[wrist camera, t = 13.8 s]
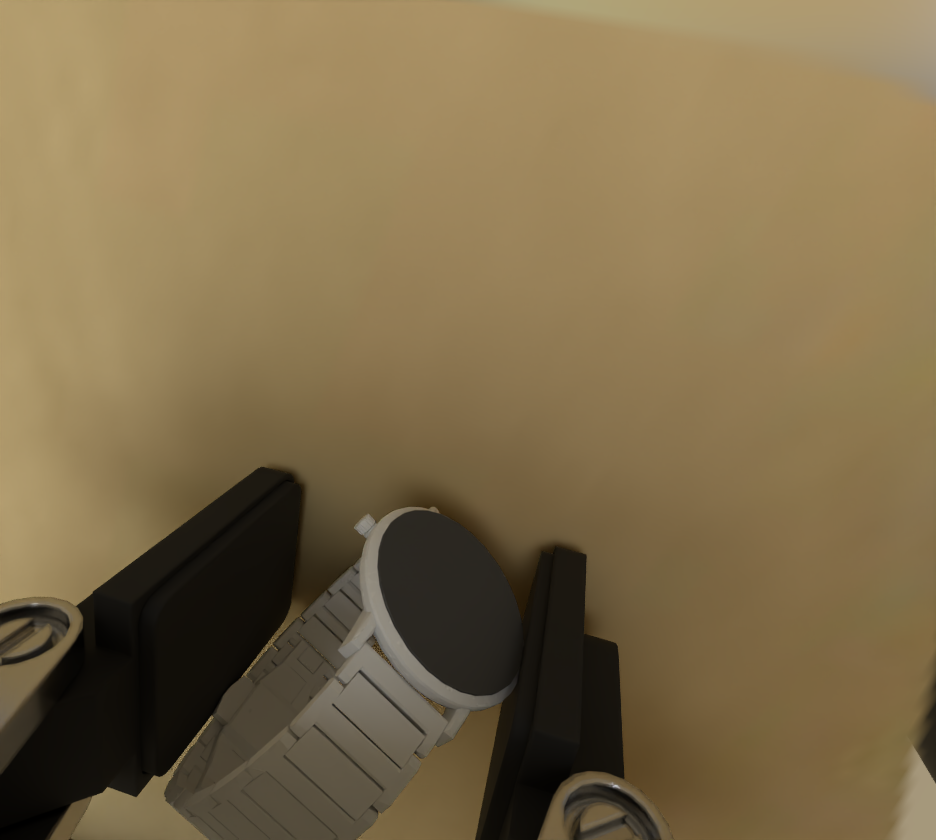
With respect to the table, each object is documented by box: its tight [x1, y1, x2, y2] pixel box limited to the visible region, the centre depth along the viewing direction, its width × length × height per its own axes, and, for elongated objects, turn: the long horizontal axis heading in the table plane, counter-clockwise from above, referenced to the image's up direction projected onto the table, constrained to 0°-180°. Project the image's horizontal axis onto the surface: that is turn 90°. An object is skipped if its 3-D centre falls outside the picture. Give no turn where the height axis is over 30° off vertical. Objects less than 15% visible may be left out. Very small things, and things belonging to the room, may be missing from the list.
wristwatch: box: [164, 507, 524, 840], centre depth 9 cm, size 3×5×5 cm, turn 134°
